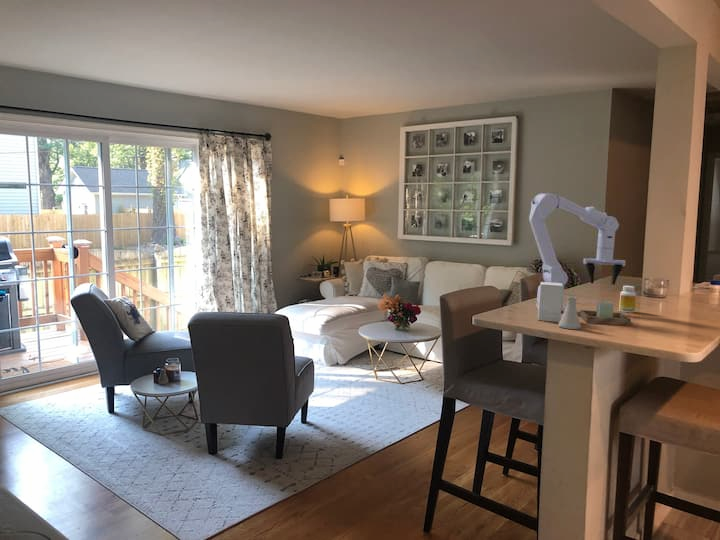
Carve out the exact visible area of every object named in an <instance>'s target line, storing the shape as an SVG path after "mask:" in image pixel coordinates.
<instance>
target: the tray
mask: <svg viewBox="0 0 720 540" xmlns="http://www.w3.org/2000/svg"><path fill="white" fill-rule="evenodd" d="M596 312H597V310H586V309H585V310H582V309H580V310H579V317H580V318H581V319H582V320H583V321H584V322H585V323H586V324H596V325H597V324H598V325H609V324H610V325H612V326H624V325H627V326H628V327H631V323H632V319H631V318H630V317H628V316H627V315H625V314H624V312H619V311H618V312H614V311H613V318H607V317H596Z"/></svg>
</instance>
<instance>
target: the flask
mask: <svg viewBox="0 0 720 540" xmlns="http://www.w3.org/2000/svg"><path fill="white" fill-rule="evenodd" d="M566 299H567V301H566V306H565V308H564V310H565V311H564V312H563V314H562V315H561V318H560V322H558V327H559V328H563V329H566V330H567V329H568V330H580V329H582V326H581V322H580V319H579V315H578V312H577V311H578V310H577V300H578V297H577V296H570V295H569V296H566Z"/></svg>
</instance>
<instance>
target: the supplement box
mask: <svg viewBox="0 0 720 540" xmlns="http://www.w3.org/2000/svg"><path fill="white" fill-rule="evenodd" d="M539 286H540V294H539V307H538V308H537V310H538V311H537V320H538V321H542V322H543V321H544V322H553V323H559V322H560V320H561V318H562V315H561V314H562V311H561V305H562V293H563V285H562V283H550V282H545V281H540V284H539Z"/></svg>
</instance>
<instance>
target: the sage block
mask: <svg viewBox="0 0 720 540" xmlns="http://www.w3.org/2000/svg"><path fill="white" fill-rule="evenodd" d="M596 303H597V304H596V311H597V312H596V317H607V318H613V312H614V309H615V308H614V307H615V303H613V302H612V301H605V300H603V301H602V300H597V302H596Z"/></svg>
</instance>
